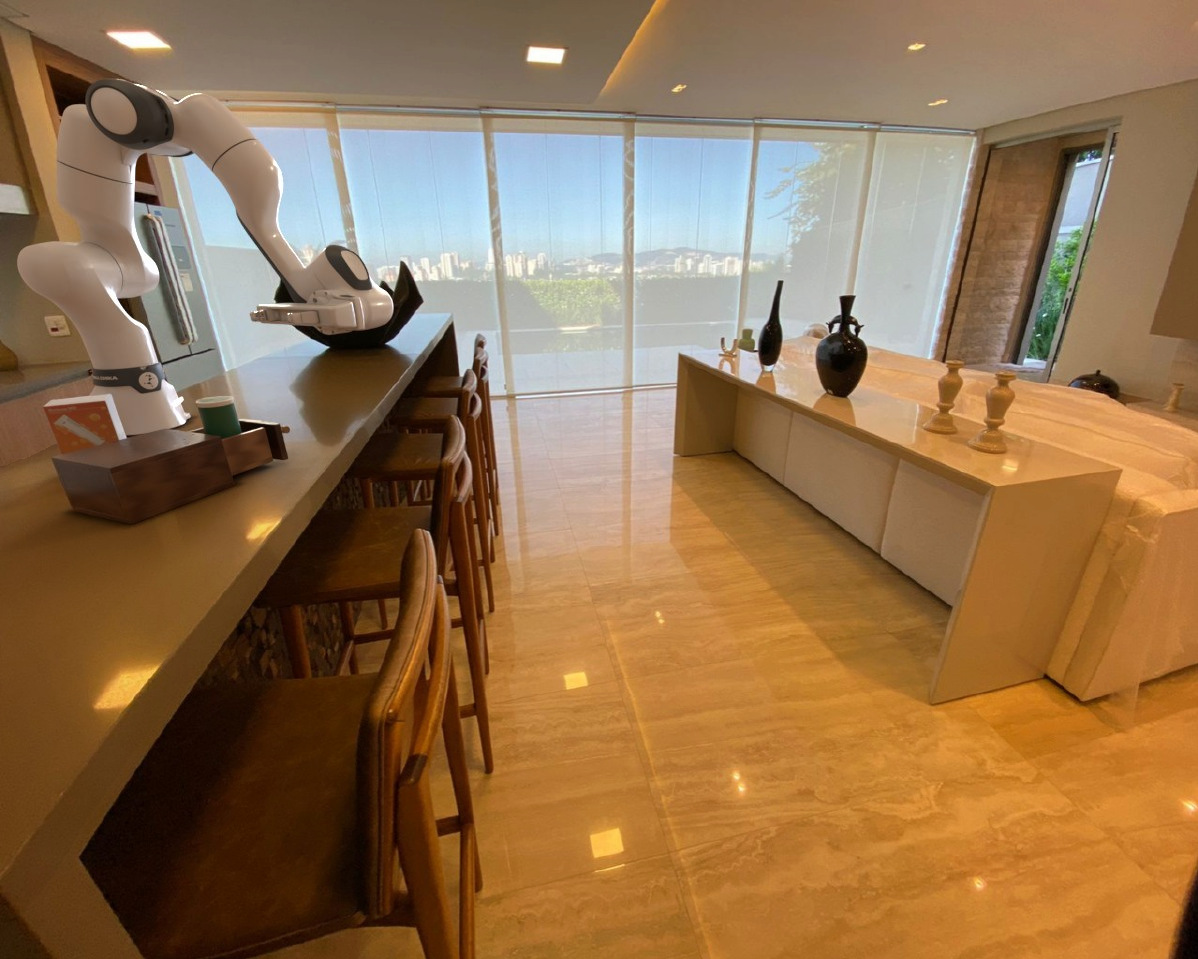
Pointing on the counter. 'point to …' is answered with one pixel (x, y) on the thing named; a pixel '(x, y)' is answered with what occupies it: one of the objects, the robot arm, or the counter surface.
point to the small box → (84, 422)
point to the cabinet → (144, 474)
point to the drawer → (254, 445)
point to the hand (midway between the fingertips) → (271, 317)
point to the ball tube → (219, 416)
